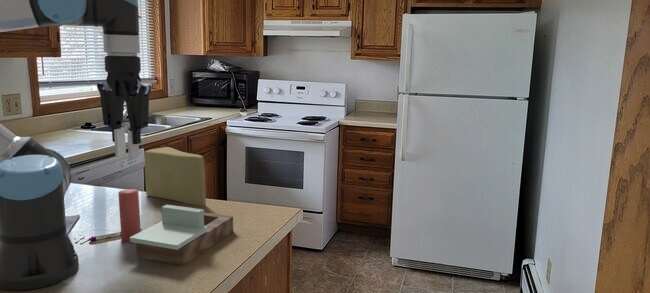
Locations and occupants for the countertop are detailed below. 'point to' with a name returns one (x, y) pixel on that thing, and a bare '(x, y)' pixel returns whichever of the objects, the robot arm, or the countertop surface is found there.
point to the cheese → (175, 175)
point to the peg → (129, 214)
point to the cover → (173, 228)
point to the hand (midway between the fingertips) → (127, 156)
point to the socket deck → (216, 231)
